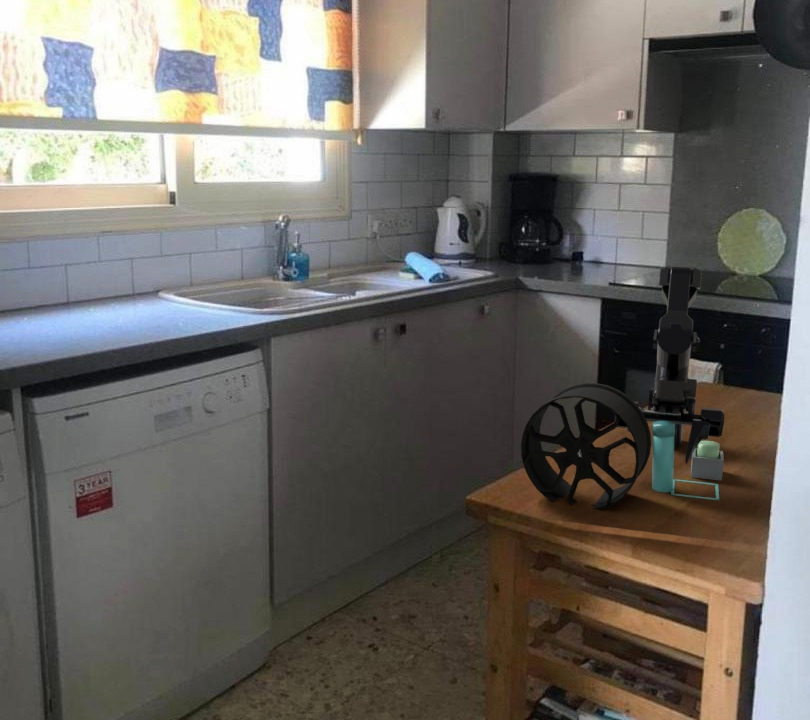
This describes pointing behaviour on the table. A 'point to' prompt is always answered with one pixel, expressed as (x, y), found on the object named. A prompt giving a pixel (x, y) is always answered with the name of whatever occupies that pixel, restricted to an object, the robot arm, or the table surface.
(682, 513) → the table surface
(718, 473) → the button housing
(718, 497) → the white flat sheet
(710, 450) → the button
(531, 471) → the car wheel rim
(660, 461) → the teal round-topped cylinder
